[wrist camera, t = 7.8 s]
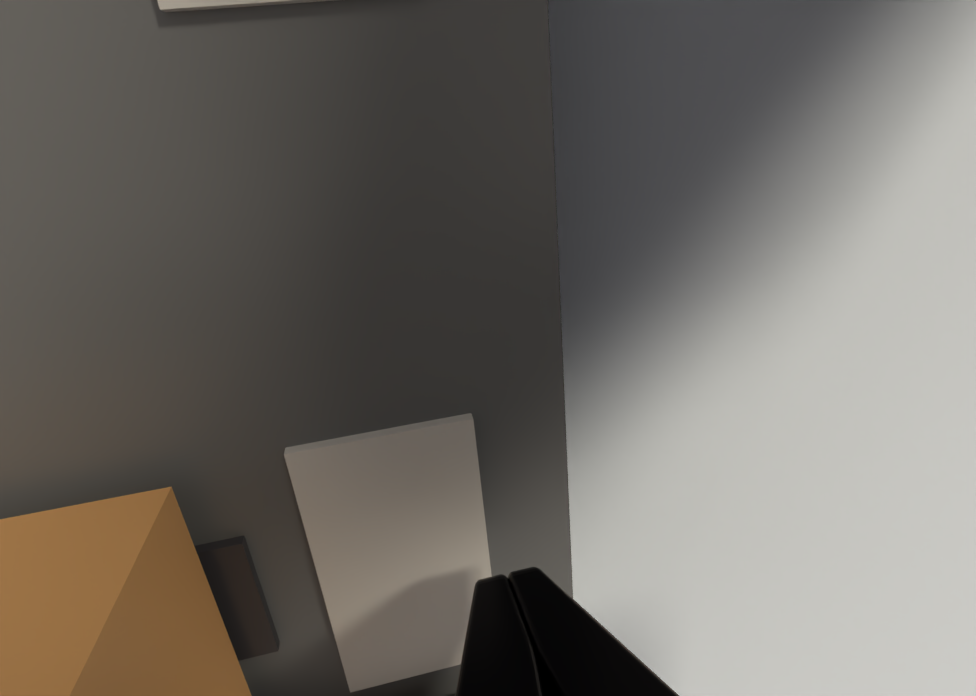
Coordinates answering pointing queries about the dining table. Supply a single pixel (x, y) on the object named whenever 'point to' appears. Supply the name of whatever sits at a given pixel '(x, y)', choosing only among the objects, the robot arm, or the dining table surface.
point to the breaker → (110, 604)
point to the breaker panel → (293, 308)
